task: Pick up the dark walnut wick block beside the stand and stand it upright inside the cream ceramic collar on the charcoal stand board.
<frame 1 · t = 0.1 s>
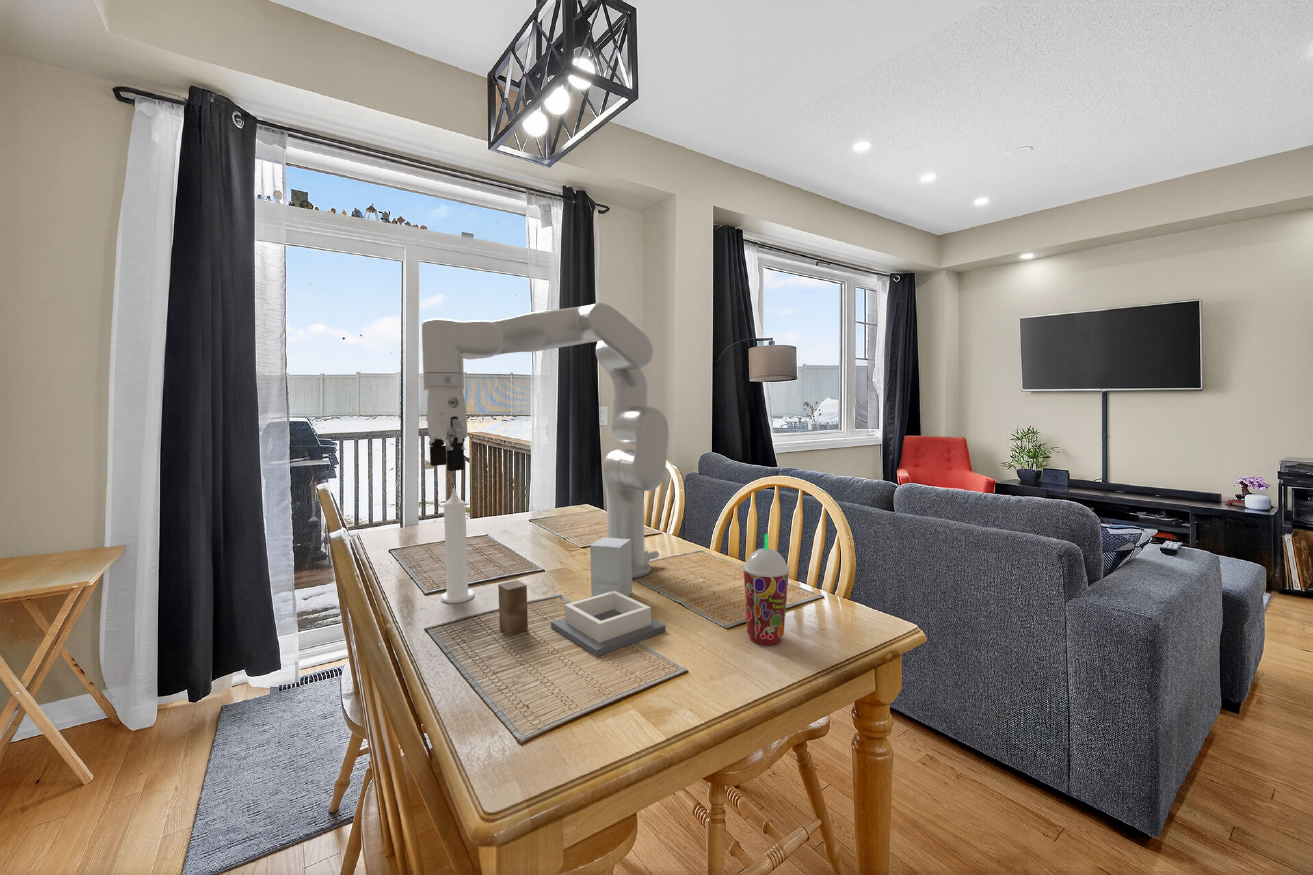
hand: (446, 467, 114), 31 cm above the table, tool pointing down, fingers open, 9 cm apart
wick block: (513, 629, 110), on the table
collar stand: (607, 629, 110), on the table
smoothie: (765, 640, 106), on the table
supplement box: (612, 597, 128), on the table
candle: (457, 598, 128), on the table
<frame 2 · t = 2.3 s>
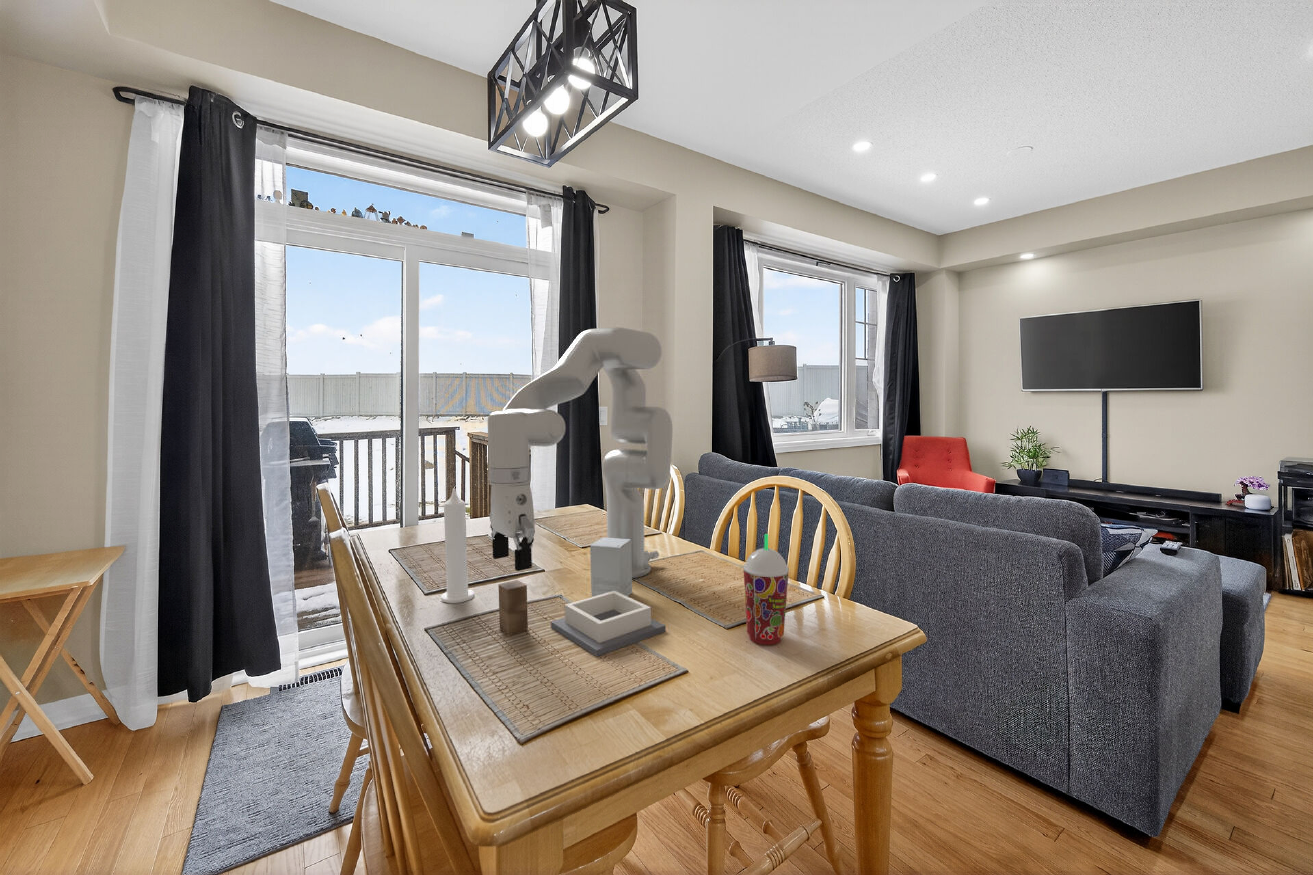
hand: (511, 563, 109), 13 cm above the table, tool pointing down, fingers open, 9 cm apart
nothing on the table moved.
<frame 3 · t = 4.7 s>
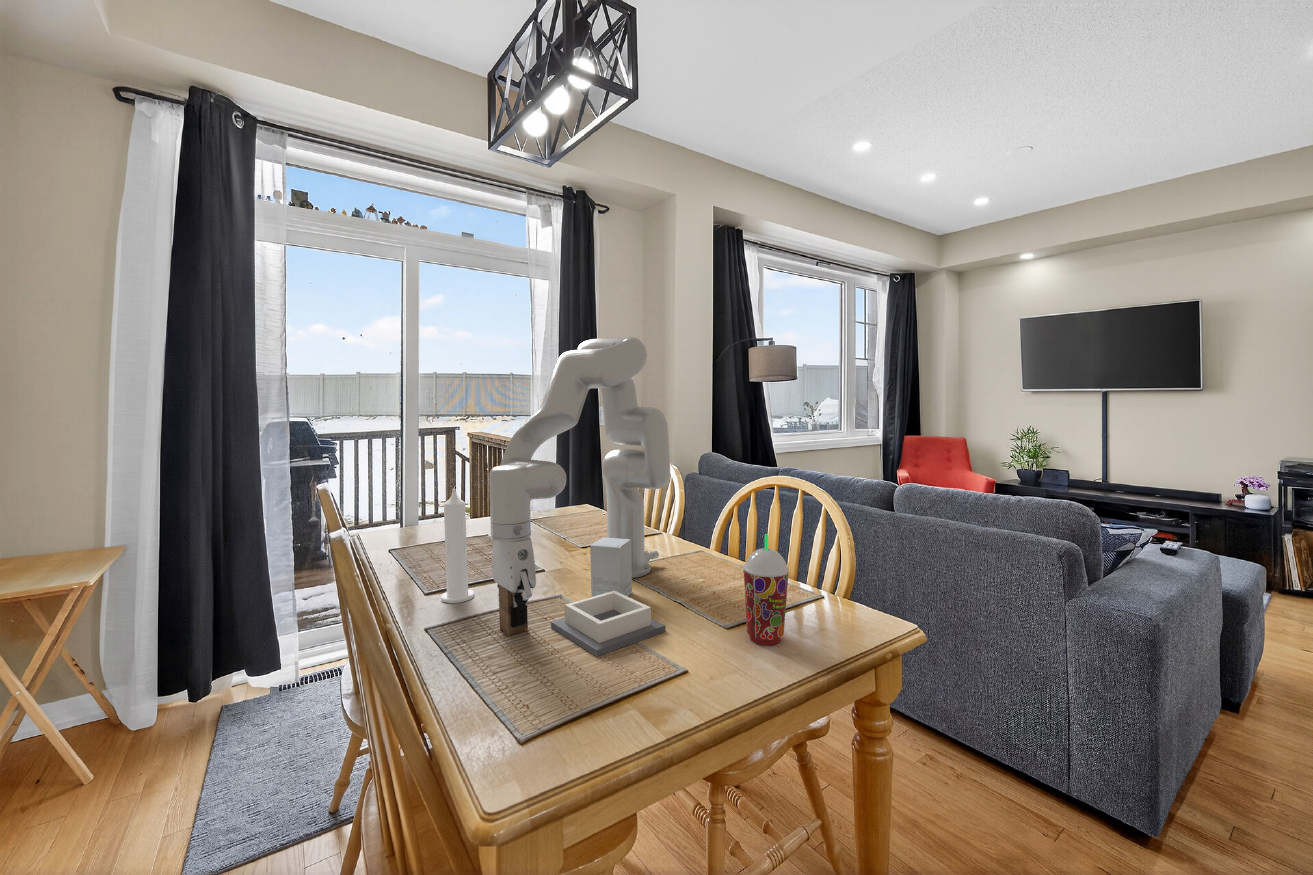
hand: (513, 620, 110), 2 cm above the table, tool pointing down, fingers closed on wick block, 3 cm apart
wick block: (513, 629, 110), on the table, touching gripper
everything else where it was.
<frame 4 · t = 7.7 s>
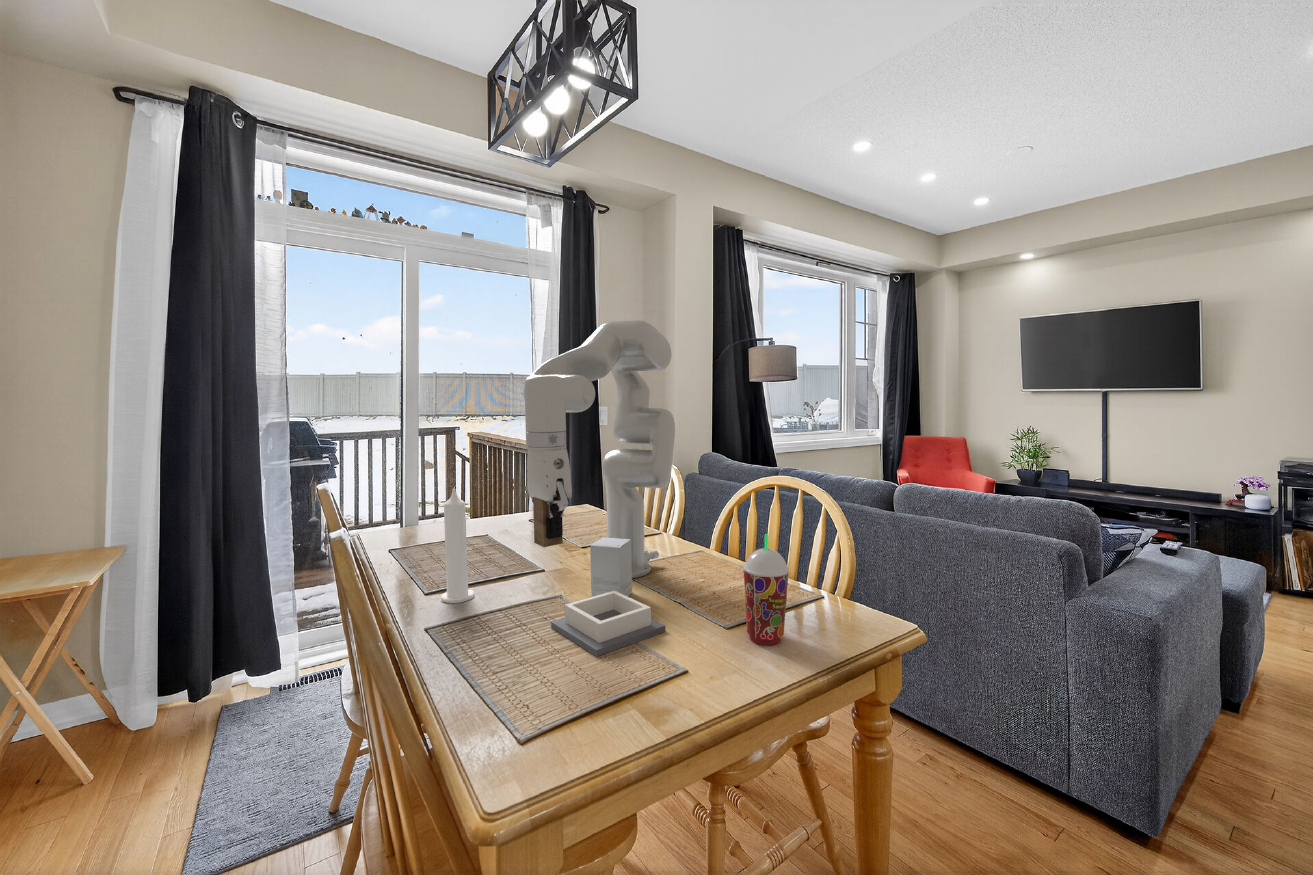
hand: (548, 533, 109), 19 cm above the table, tool pointing down, fingers closed on wick block, 4 cm apart
wick block: (548, 543, 109), point 17 cm above the table, touching gripper
everything else where it was.
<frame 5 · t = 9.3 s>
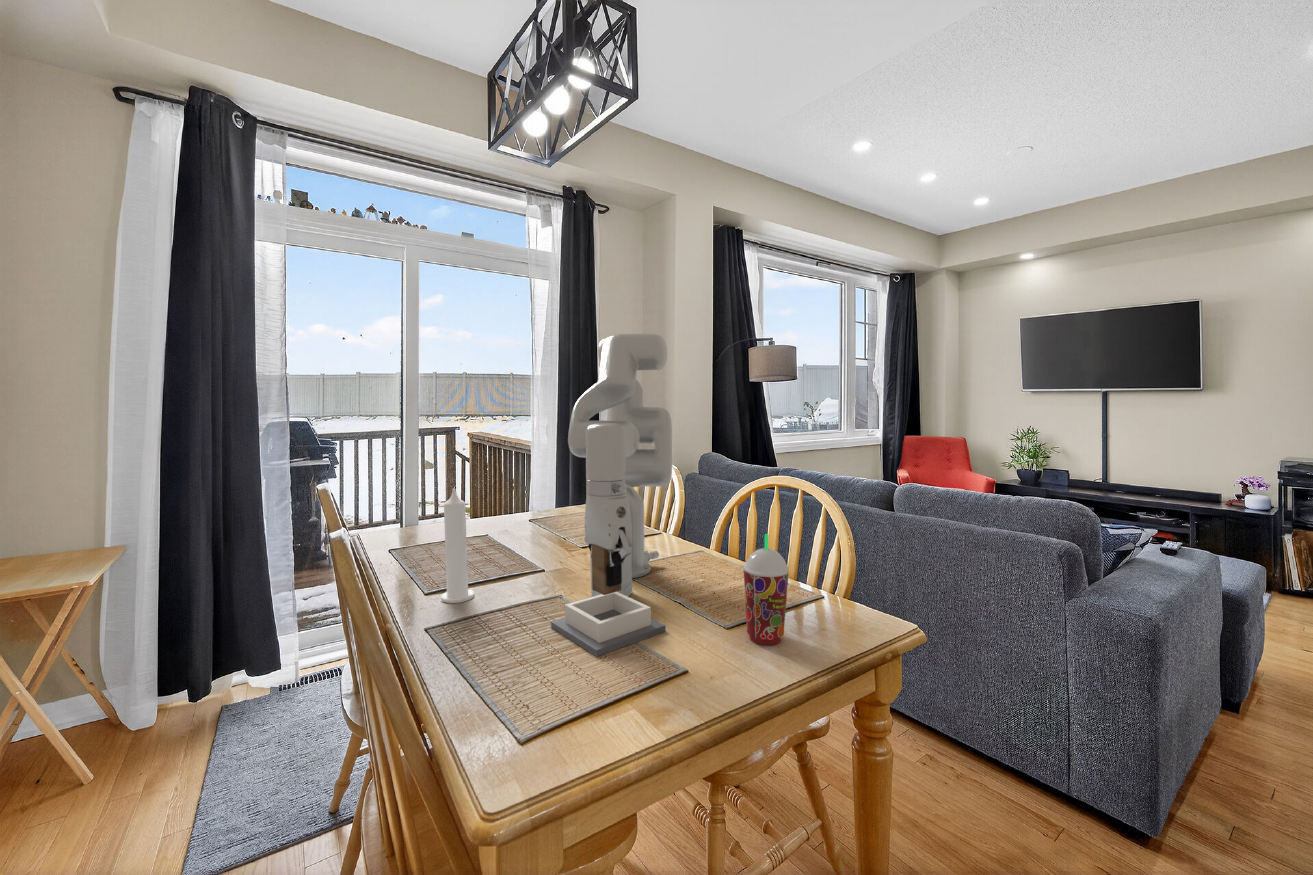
hand: (607, 580, 109), 10 cm above the table, tool pointing down, fingers closed on wick block, 4 cm apart
wick block: (606, 589, 109), point 8 cm above the table, touching gripper
everything else where it was.
when the fingers open (5 cm above the table, at t = 10.7 s): wick block drops 2 cm, resting on collar stand.
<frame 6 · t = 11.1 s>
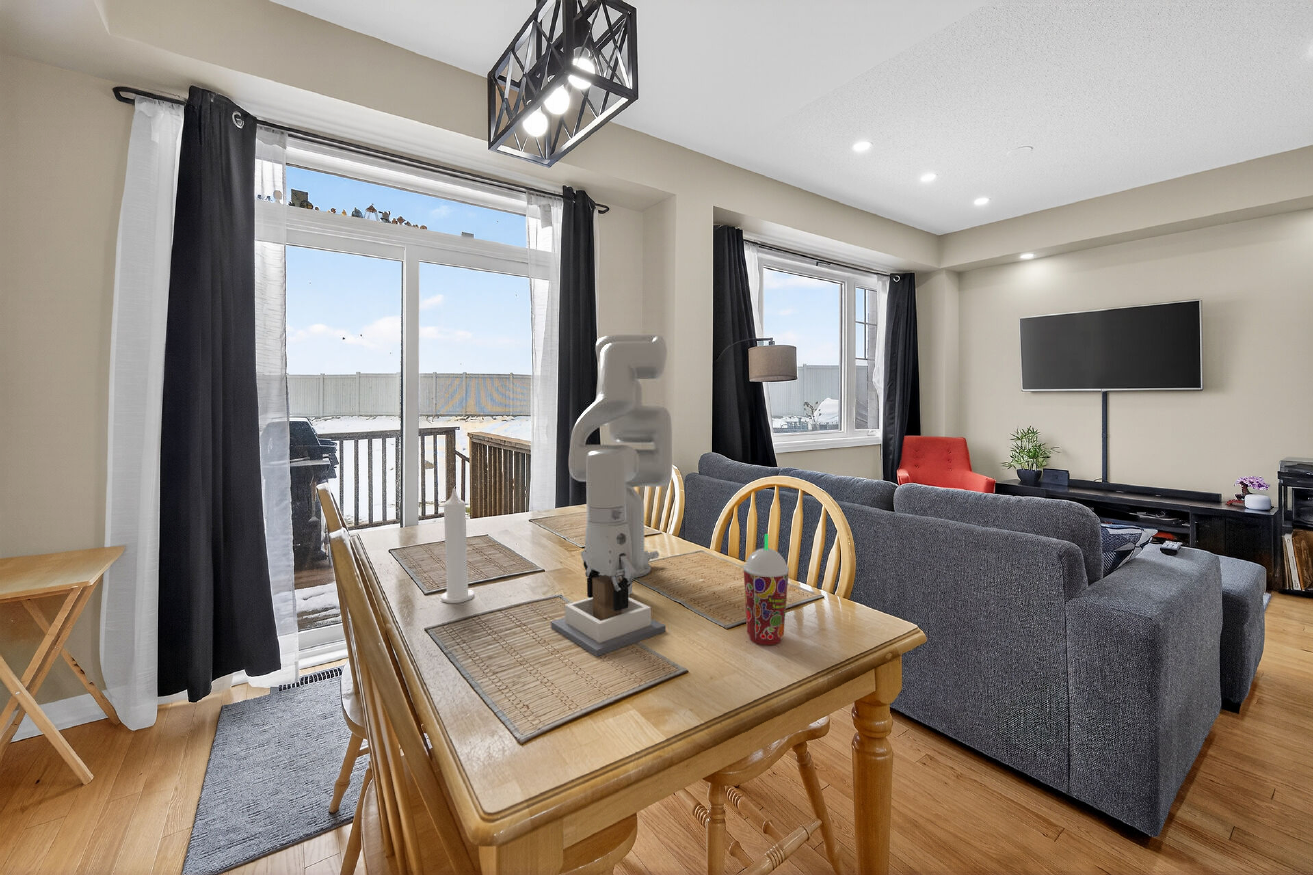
hand: (607, 601, 110), 6 cm above the table, tool pointing down, fingers open, 8 cm apart
wick block: (607, 623, 110), point 1 cm above the table, touching collar stand
everything else where it was.
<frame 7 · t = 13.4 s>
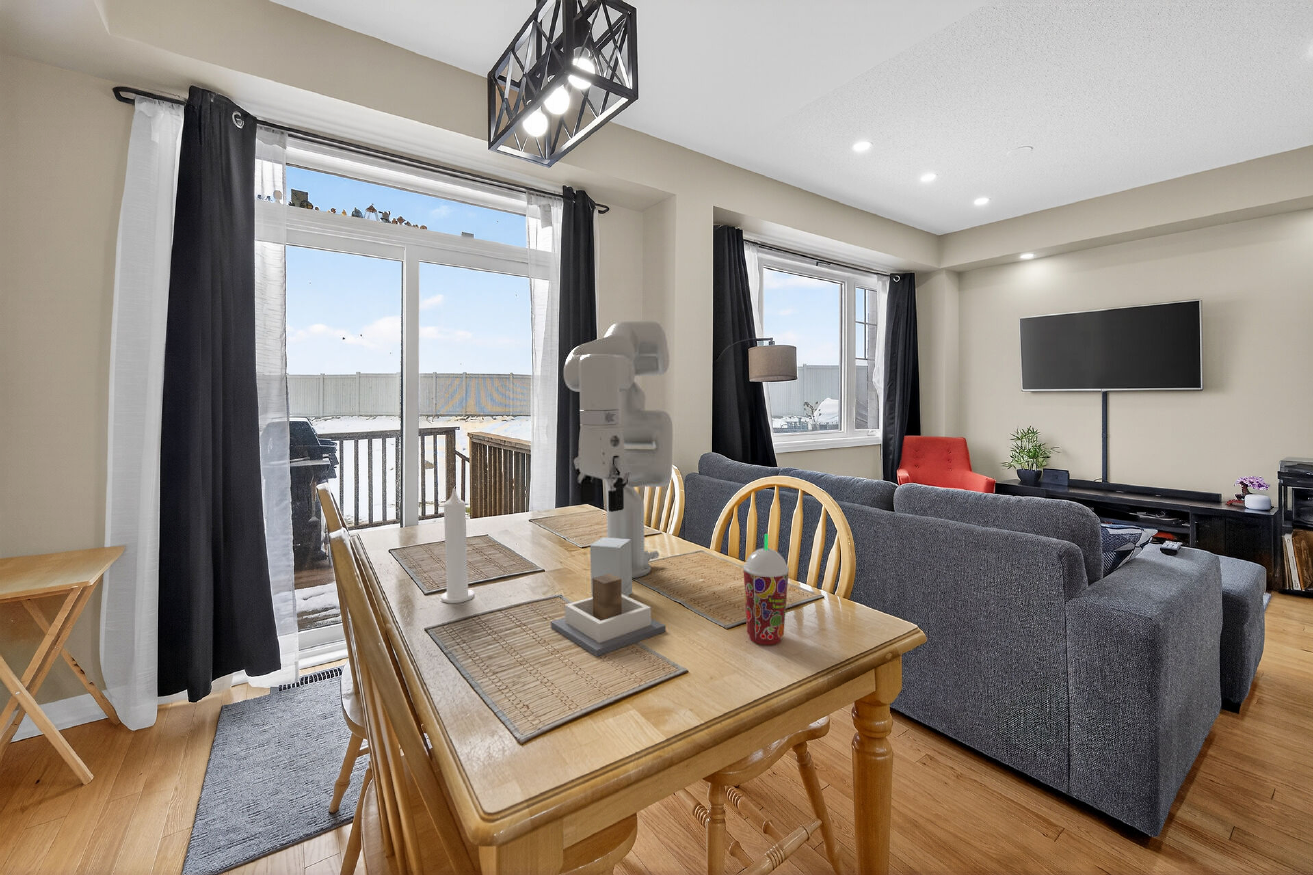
hand: (601, 506, 110), 24 cm above the table, tool pointing down, fingers open, 9 cm apart
nothing on the table moved.
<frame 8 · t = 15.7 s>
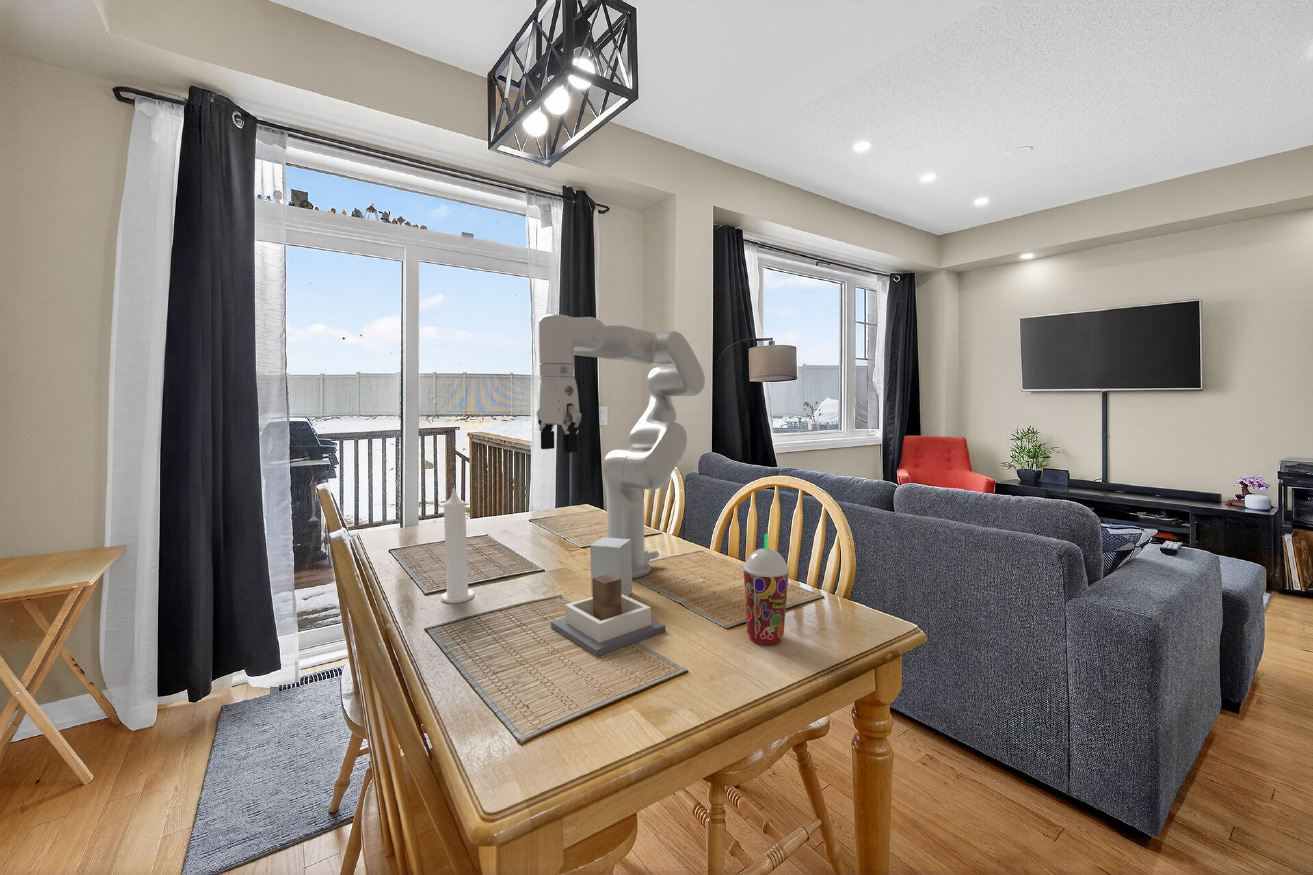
hand: (558, 450, 125), 33 cm above the table, tool pointing down, fingers open, 9 cm apart
nothing on the table moved.
at the end: wick block 0.1 cm off-centre on the collar stand, point 1.2 cm above the collar stand's base; wick block tilted 0°; the gripper is holding nothing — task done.
